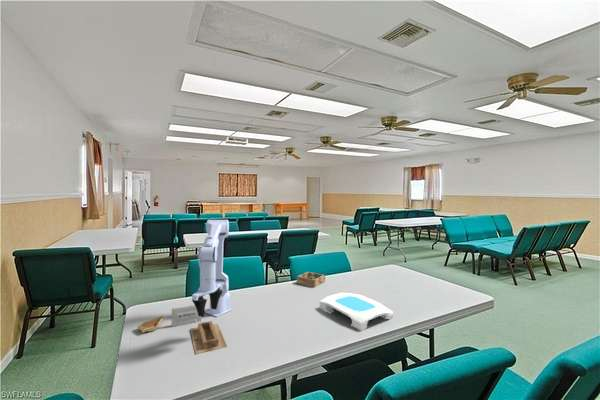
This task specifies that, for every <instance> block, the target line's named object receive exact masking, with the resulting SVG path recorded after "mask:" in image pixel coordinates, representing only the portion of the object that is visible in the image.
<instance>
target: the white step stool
mask: <svg viewBox="0 0 600 400" xmlns="http://www.w3.org/2000/svg"><path fill="white" fill-rule="evenodd" d="M319 309H320V310H321V311H323V312H324V311H325V312H324V313H327V312H328V313H327V314H331V313H330V312H332V311H333V312H332V313H334V312H335V310H336V311H338V312H340V313H342V314H343V315H345V316H347V317H349V318H350V319H351V324H350V326H351V327H352V326H353V328H354V327H355V328H354V329H356V328H357V329H356V330H358V329H359V330H358V331H361V330H362V331H364V330H363V329H365V328H367V329H368V323H369V321H370V320H373V319H376V318H378V317H379V316H380V317H379V318H381V317H382V318H381V319H384V320H386V319H390V320H392V318H393V319H394V312H393V311H392V310H391V309H390V308H388V307H386V306H385V305H383V304H382V303H380V302H378V301H376V300H374V299H372V298H369V297H366V296H365V295H362V294H357V293H351V292H339V293H335V294H331V295H327V296H326V297H324V298H322V299H321V300H319ZM333 309H334V310H333ZM365 330H366V329H365Z"/></svg>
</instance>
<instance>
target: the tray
mask: <svg viewBox="0 0 600 400" xmlns="http://www.w3.org/2000/svg"><path fill="white" fill-rule="evenodd" d="M190 336H191V340H192V344H193V350H194V354H195V356H196V355H198V354H203V353H207V352H212V351H215V350H220V349H225V348H227V347H228V345H227V343H226V340H225V338H224V335H223V333H222V330H221V328H220V326H219V323H214V324H213V321H212V320H209V321H205V322H203V321H202V322H200V323H199V322H197V327H192V328H191V327H190Z"/></svg>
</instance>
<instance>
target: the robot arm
mask: <svg viewBox="0 0 600 400" xmlns="http://www.w3.org/2000/svg"><path fill="white" fill-rule="evenodd" d="M229 229H230V222H229V220H228V219H207V221H206V223H205V230H206V234H207V235H208V236H206V237H205V238H204V241H203V244H202V247H201V248H198V254H197V259H198V267H199V287H198V289H197V290H196V292H195V293H193V294H191V296H192V297H191V302H192V303H193V305H195V306H196V309H197V312H198V316H200V317H201V318H203V317H205V314H208V315H210V316H213V317H215V318H217V317H220V316H222V315H224V314H226V313H228V312H231V311H232V310H233V309H232V308H231V305H232V304H231V300H232V299H231V293H230V292H229V288H230V287H229V284H230V283H229V282H230V281H229V276H228V275H227V274H226V273H224V272H223V269H224V268H223V267H224V241H225V238H228V237H229V233H230V230H229ZM207 295H208V296H209V310H207V311H205V310H206V304H207V301H208V299H206V298H204V297H205V296H207Z"/></svg>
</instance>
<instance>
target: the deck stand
mask: <svg viewBox="0 0 600 400" xmlns="http://www.w3.org/2000/svg"><path fill="white" fill-rule="evenodd" d="M312 273H313V275H310V274H312ZM309 277H310V278H309ZM312 277H315V278H313V279H312ZM324 283H326V275H325V274H322V273H321V274H320V273H316V272H310V271H306V272H304V273H302V274H299V275H297V276H296V284H297V285H300V286H306V287H310V288H316V287H318V286H320V285H321V284H324Z"/></svg>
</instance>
